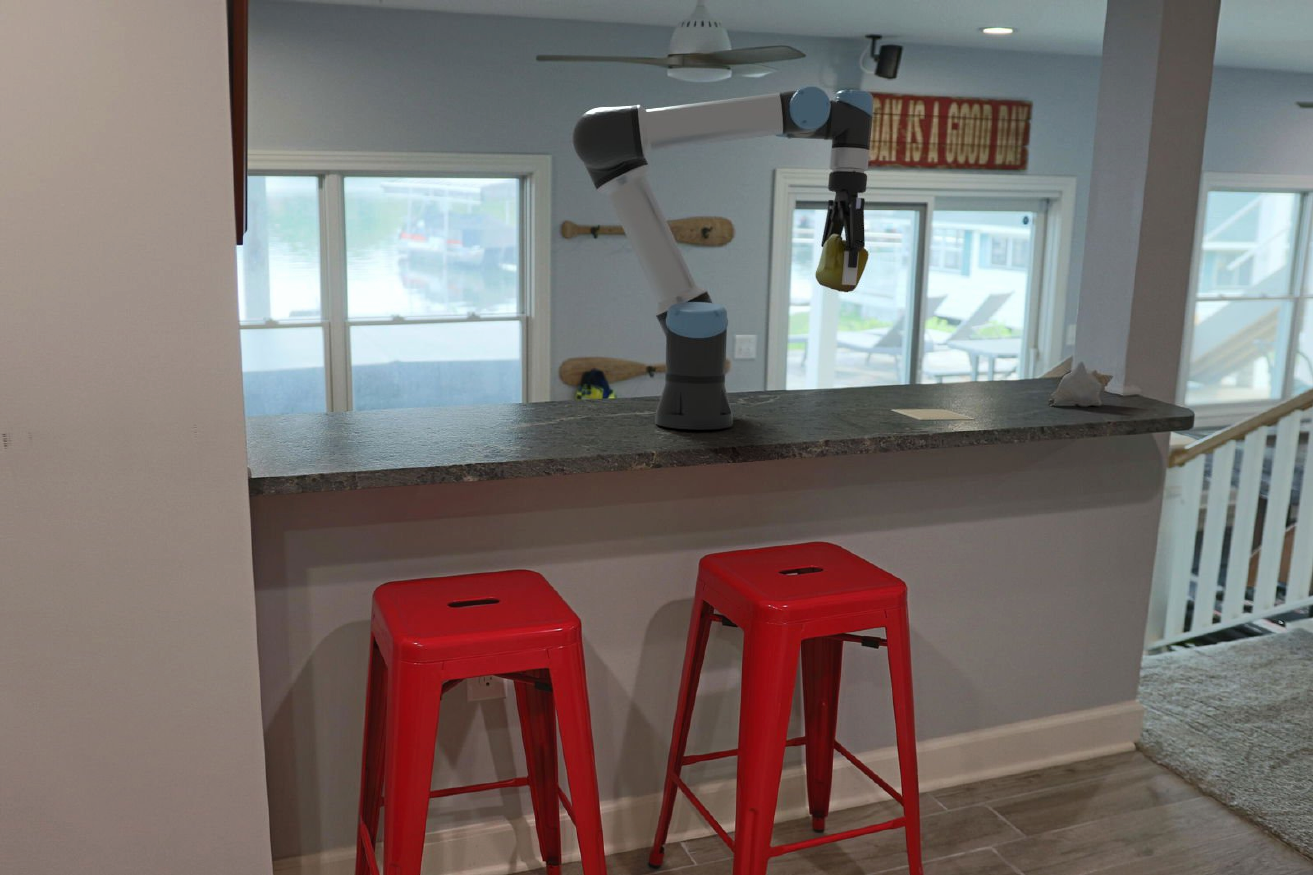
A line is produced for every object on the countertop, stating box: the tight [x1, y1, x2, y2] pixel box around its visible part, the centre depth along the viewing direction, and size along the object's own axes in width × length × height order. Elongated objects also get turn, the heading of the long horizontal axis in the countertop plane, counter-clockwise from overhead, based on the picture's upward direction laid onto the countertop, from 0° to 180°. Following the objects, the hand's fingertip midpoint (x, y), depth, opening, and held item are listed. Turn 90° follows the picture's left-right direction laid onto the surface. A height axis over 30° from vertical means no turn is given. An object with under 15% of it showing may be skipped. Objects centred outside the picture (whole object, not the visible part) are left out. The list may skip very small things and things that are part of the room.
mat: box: [890, 408, 976, 421], centre depth 229 cm, size 12×14×1 cm
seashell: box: [1047, 360, 1114, 408], centre depth 246 cm, size 12×10×15 cm
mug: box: [814, 234, 870, 293], centre depth 222 cm, size 12×10×10 cm
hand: (838, 283), depth 224 cm, fingers closed on mug, 10 cm apart
